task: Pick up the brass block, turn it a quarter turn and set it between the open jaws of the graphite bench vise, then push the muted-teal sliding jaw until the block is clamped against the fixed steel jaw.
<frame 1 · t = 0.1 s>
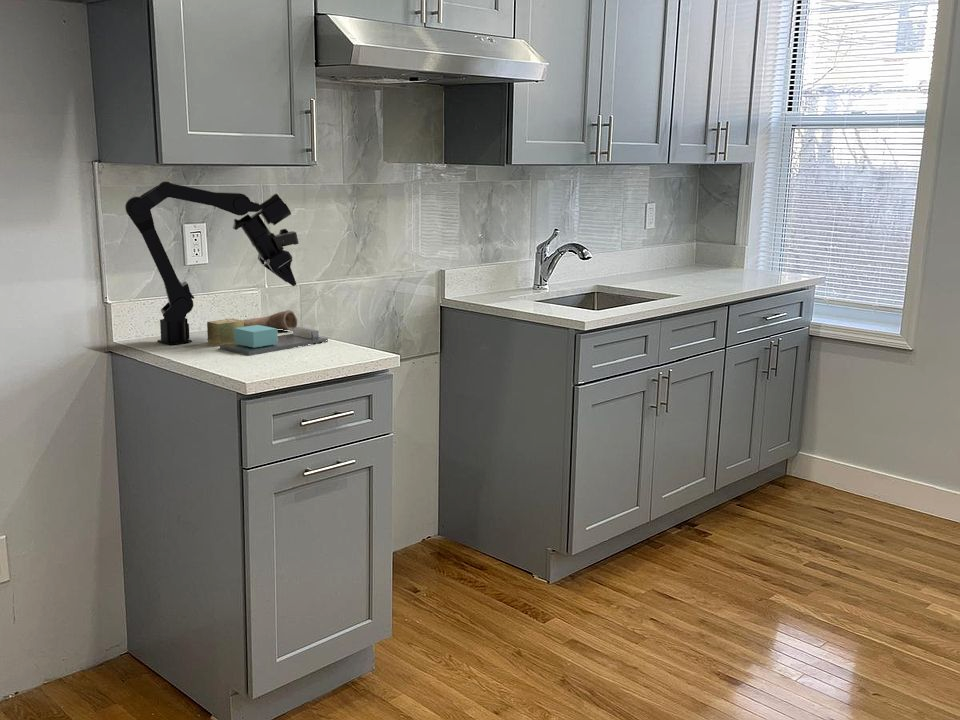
hand: (291, 283, 258), 15 cm above the worktop, tool tilted 30°, fingers open, 9 cm apart
slide jaw: (256, 335, 243), point 3 cm above the worktop, slide at 11.0 cm
brass block: (226, 343, 250), on the worktop
vise: (275, 345, 248), on the worktop
pipe: (266, 332, 269), on the worktop
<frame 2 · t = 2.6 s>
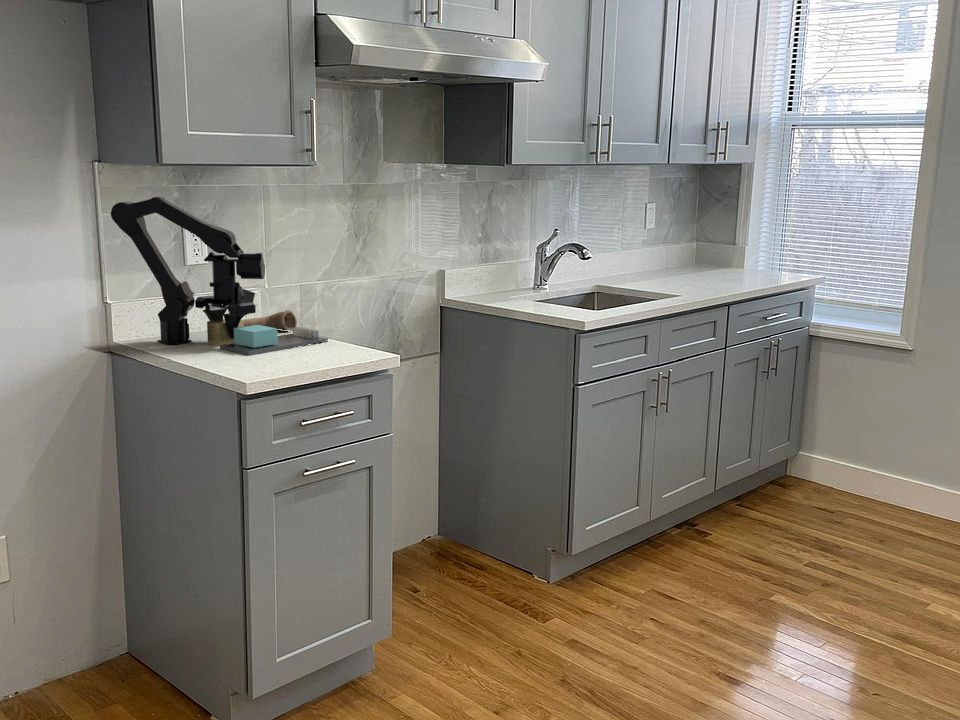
hand: (226, 337, 250), 2 cm above the worktop, tool pointing down, fingers closed on brass block, 5 cm apart
brass block: (226, 343, 250), on the worktop, touching gripper
everything else where it was.
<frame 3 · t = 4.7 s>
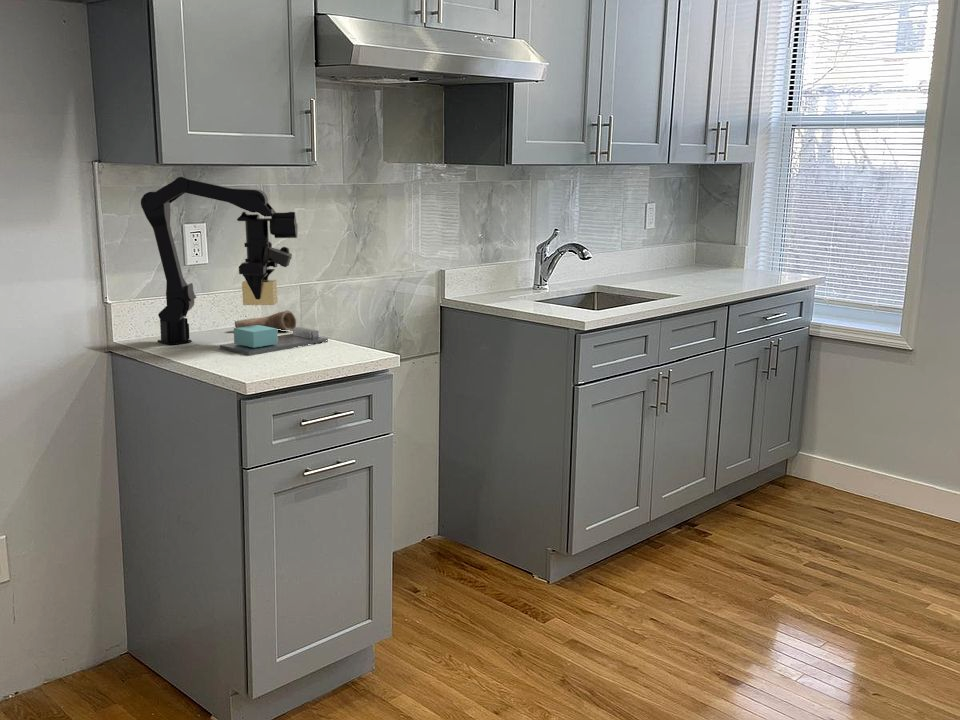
hand: (260, 297, 249), 12 cm above the worktop, tool pointing down, fingers closed on brass block, 5 cm apart
brass block: (260, 303, 249), point 11 cm above the worktop, touching gripper
everything else where it was.
when the fingers open (4 cm above the worktop, at t = 7.0 s): brass block drops 1 cm, resting on vise.
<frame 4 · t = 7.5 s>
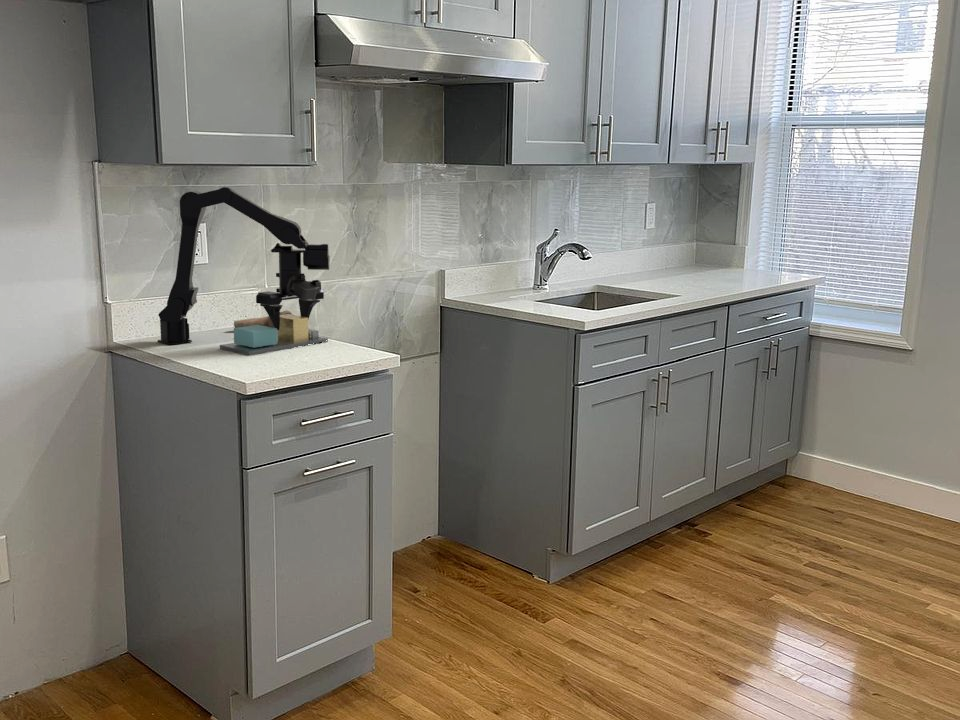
hand: (291, 327, 252), 4 cm above the worktop, tool pointing down, fingers open, 9 cm apart
brass block: (291, 338, 252), point 1 cm above the worktop, touching vise
everything else where it was.
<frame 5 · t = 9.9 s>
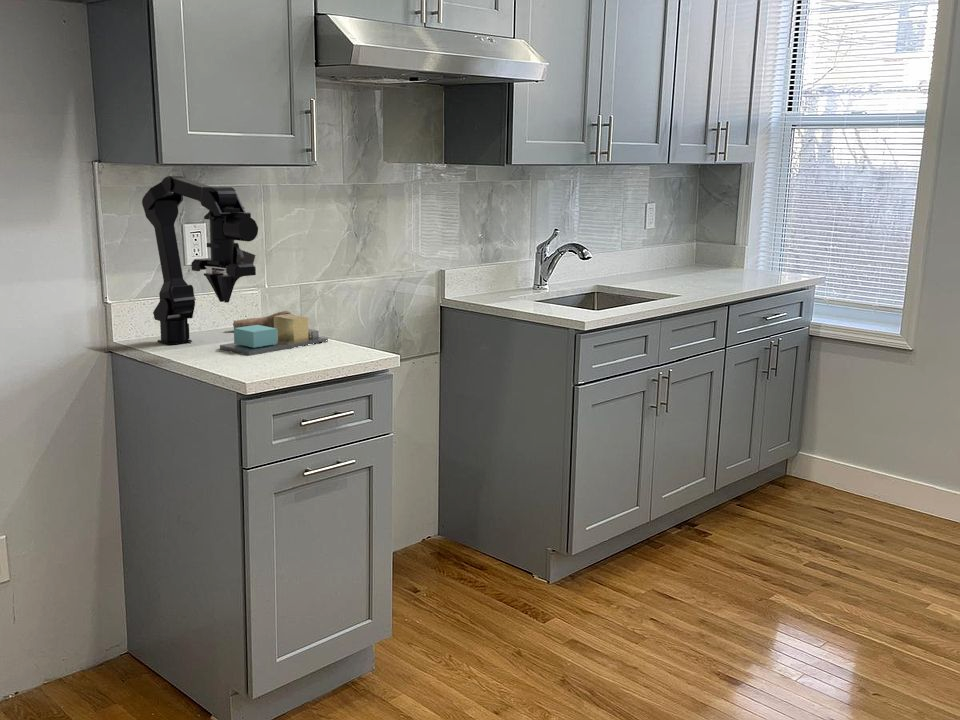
hand: (224, 302, 234), 13 cm above the worktop, tool pointing down, fingers closed
nothing on the worktop moved.
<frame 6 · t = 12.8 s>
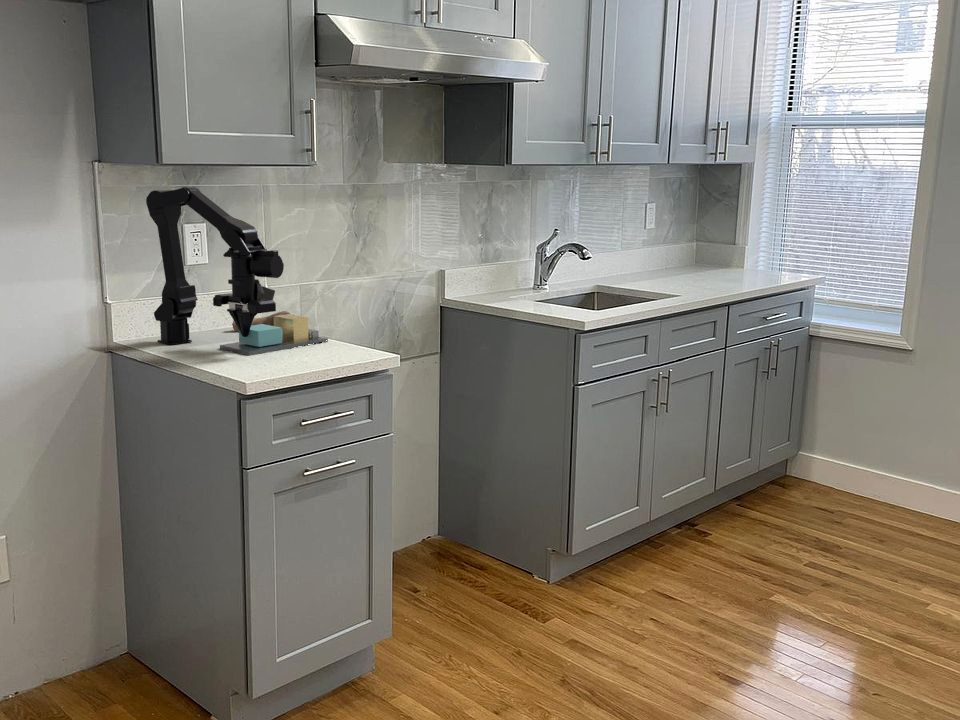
hand: (245, 336, 240), 4 cm above the worktop, tool pointing down, fingers closed
slide jaw: (261, 335, 244), point 3 cm above the worktop, slide at 9.4 cm, touching gripper
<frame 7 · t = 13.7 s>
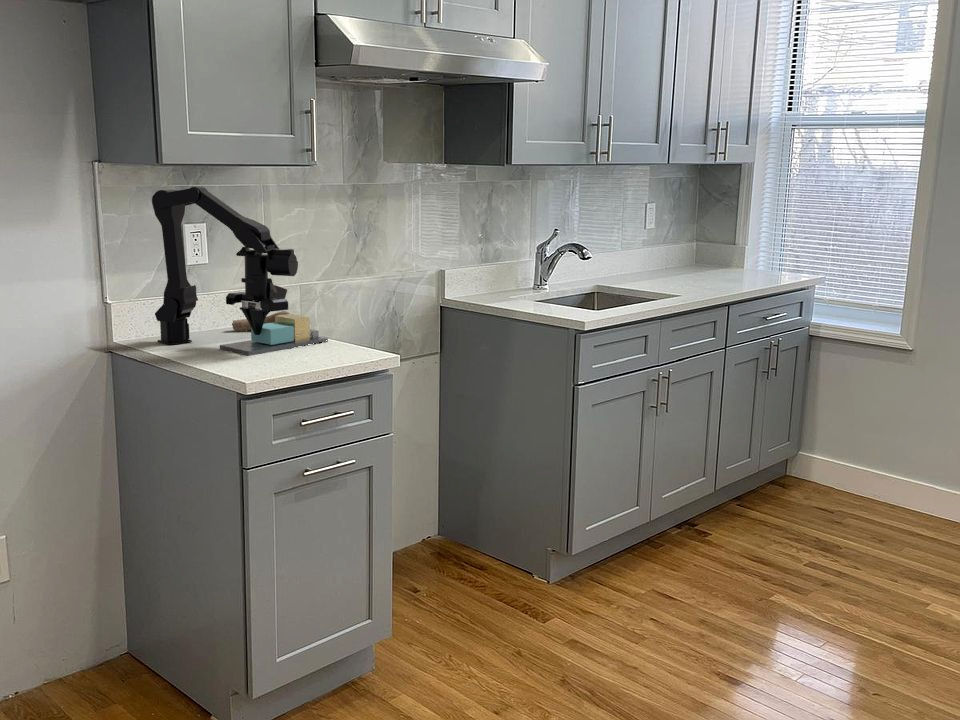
hand: (257, 334, 243), 4 cm above the worktop, tool pointing down, fingers closed, pressing on slide jaw
slide jaw: (273, 333, 247), point 3 cm above the worktop, slide at 5.6 cm, touching brass block, gripper
brass block: (292, 338, 253), point 1 cm above the worktop, touching slide jaw, vise
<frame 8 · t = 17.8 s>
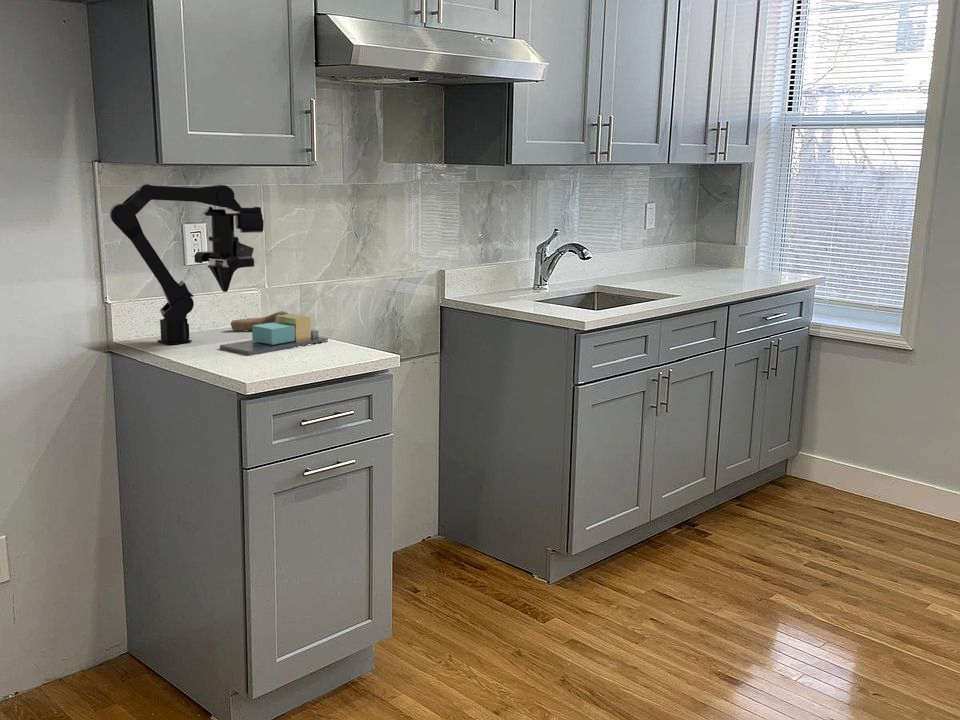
hand: (225, 291, 252), 13 cm above the worktop, tool pointing down, fingers closed
slide jaw: (274, 333, 248), point 3 cm above the worktop, slide at 5.2 cm, touching brass block
at the end: brass block 0.2 cm from the target spot, point 1.0 cm above the worktop; slide jaw slide at 5.2 cm; brass block tilted 0° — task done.
